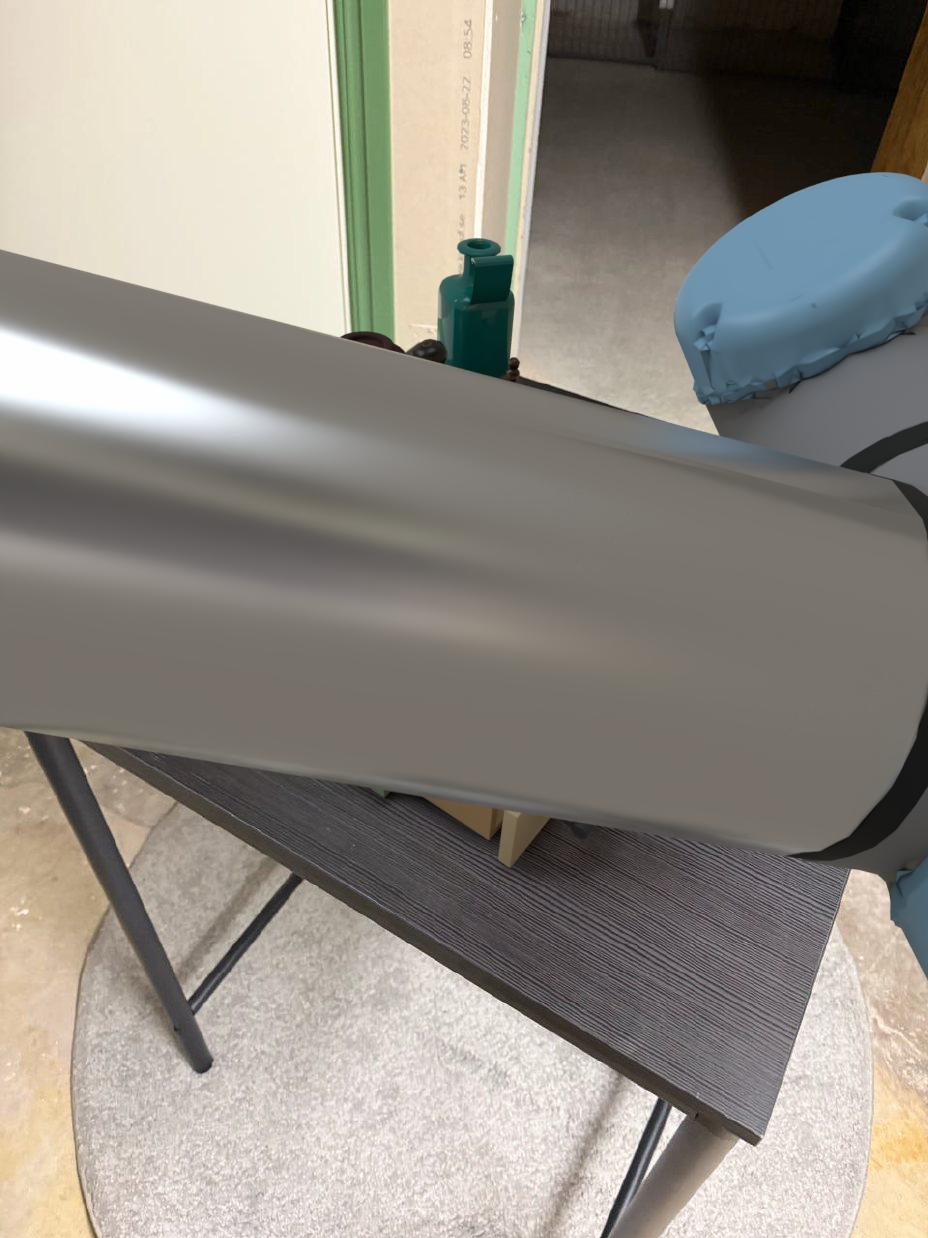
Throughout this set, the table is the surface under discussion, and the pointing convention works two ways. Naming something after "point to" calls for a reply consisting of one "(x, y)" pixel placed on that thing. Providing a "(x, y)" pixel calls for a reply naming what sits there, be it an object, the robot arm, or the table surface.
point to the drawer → (505, 826)
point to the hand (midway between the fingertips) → (382, 581)
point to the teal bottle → (478, 310)
